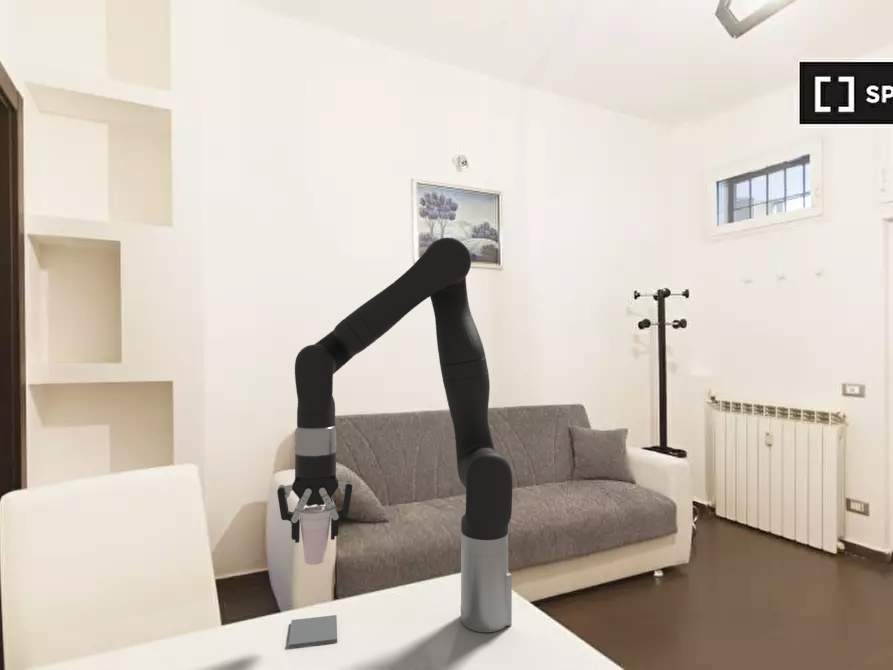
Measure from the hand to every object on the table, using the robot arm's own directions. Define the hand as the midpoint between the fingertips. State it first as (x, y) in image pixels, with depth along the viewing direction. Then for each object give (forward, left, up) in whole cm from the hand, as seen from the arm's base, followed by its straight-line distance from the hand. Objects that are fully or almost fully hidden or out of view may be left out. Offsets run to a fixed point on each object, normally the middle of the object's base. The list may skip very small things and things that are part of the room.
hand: (315, 539), depth 96 cm
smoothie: (0, 0, -4) cm, 4 cm away
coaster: (0, 0, -17) cm, 17 cm away
